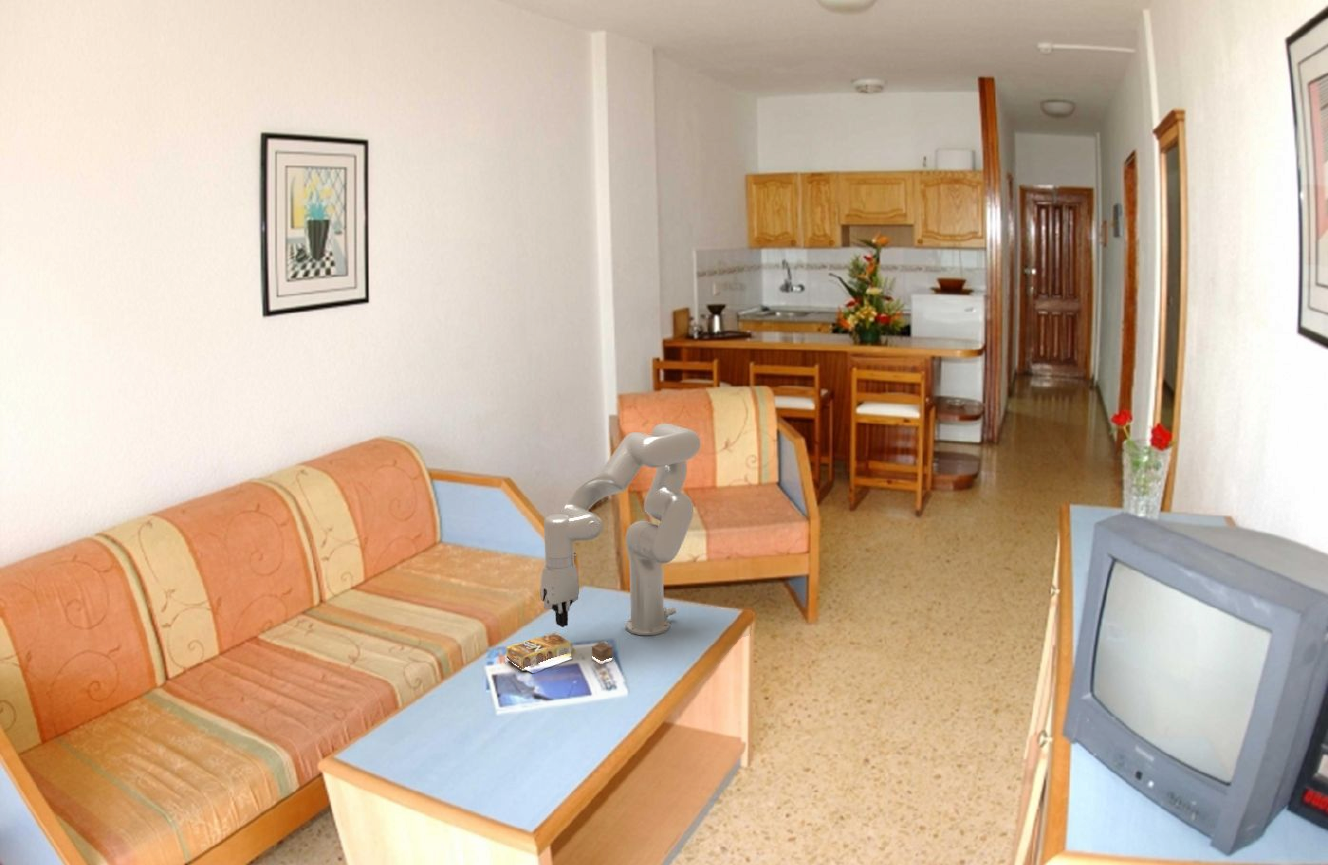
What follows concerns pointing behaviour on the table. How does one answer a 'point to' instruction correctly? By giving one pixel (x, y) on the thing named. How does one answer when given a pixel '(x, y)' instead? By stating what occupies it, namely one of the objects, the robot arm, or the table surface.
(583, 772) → the table surface
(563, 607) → the robot arm
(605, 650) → the tan wooden block
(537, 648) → the candy box
